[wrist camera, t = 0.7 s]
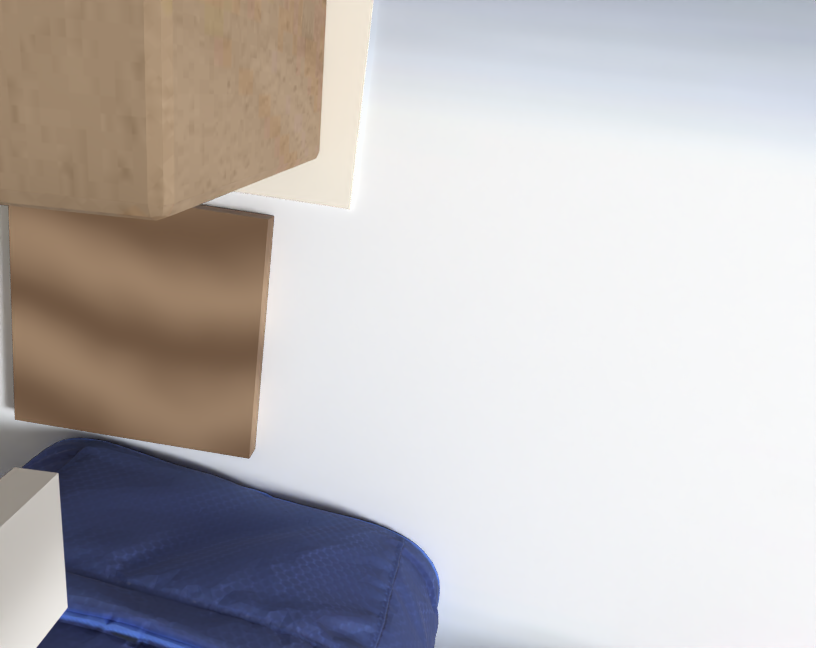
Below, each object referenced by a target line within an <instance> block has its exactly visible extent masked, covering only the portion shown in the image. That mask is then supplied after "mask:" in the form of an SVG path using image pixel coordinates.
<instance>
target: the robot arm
mask: <svg viewBox="0 0 816 648" xmlns="http://www.w3.org/2000/svg"><path fill="white" fill-rule="evenodd" d="M67 608H68V604H67V590H66V576H65V561H64V547H63V533H62V518H61V504H60V490H59V475H58V473H54V472H47V471H39V470H32V469H24V468H17V467H14V468H13V469H12V470H10V471H9V472H8V473H7V474H6V475H4V476H3V477H2V478H1V479H0V648H37V646H38V645H39V644H40V642H41V641H42V640H43V639H44V637H45V636H46V635H47V633H48V632H49V631H50V630H51V628H52V627H53V626H54V624H55V623H56V622H57V621H58V619H59V618H60V617H61V616H62V614H63V613H64V612H65V610H66V609H67Z"/></svg>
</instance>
